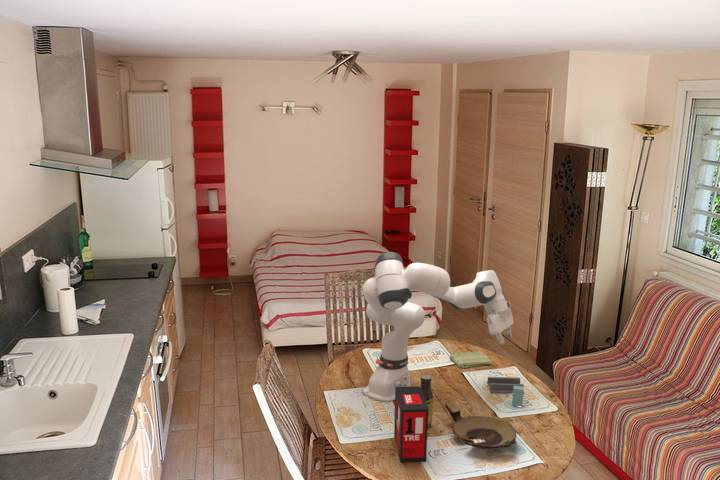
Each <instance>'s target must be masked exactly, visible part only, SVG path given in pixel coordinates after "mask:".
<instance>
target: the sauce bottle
mask: <svg viewBox="0 0 720 480" xmlns="http://www.w3.org/2000/svg"><path fill="white" fill-rule="evenodd" d="M431 382H432V376H431V375H429V374H422V375H421V376H420V389H421V391H422V394H423V397H424V399H425V402H426V405H427V407H428V427H427V429H429V428H431V427H432V422H433V412H434V408H433V407H434V393H433V391H432V387H431Z"/></svg>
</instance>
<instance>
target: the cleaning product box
mask: <svg viewBox="0 0 720 480" xmlns="http://www.w3.org/2000/svg"><path fill="white" fill-rule="evenodd" d="M410 386H411V385H410ZM420 388H421V385H419V386H416V385H415V386H411V387H395V400H394V427H393V428H394V430H393V432H394V433H393V434H394V435H393V437H394V442H395V446H396V449H397V453H398V458H399V462H400V463H402V464H404V463H405V464H406V463H426V462H427V452H428V450H427V448H428V428H427V427H428V407H427V405H426V402H425V399H424V397H423V394H422V391H421V389H420Z"/></svg>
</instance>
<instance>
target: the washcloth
mask: <svg viewBox="0 0 720 480" xmlns="http://www.w3.org/2000/svg"><path fill="white" fill-rule="evenodd" d="M449 359H450V360H451V361H452V362H453V364H454V363H455V365H456V366H457V367H458V368H459V369H470V368H475V367H476V368H477V367H482V366H483V367H484V366H491V365H493V362H492V361H491V359H490V358H489V357H488V356H487V355H486V354H484V352H483V351H479V350H477V351H468V352H467V351H466V352H458V353H453V354H450V355H449Z"/></svg>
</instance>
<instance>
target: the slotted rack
mask: <svg viewBox="0 0 720 480" xmlns="http://www.w3.org/2000/svg"><path fill="white" fill-rule="evenodd" d="M487 384H488V385H487ZM486 385H487V387H489V388H488V389H489V393H490V394H493V393H513V387H514V385H516V386H522V387H524V386H525V385H524V384H523V383H521V377H509V376H508V377H507V376H487V380H486ZM524 394H525V391H524V392H523V395H524Z"/></svg>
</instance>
